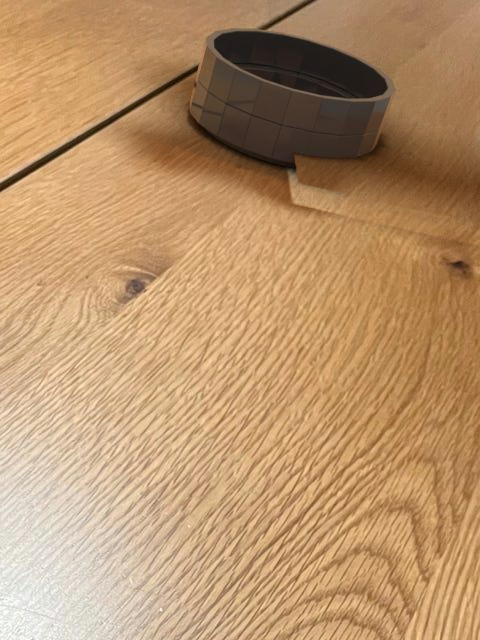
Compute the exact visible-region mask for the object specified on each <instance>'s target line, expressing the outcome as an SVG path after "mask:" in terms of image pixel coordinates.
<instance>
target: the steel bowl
mask: <svg viewBox="0 0 480 640" xmlns="http://www.w3.org/2000/svg"><path fill="white" fill-rule="evenodd" d="M396 91H397V89H396V87H395V84H394V81H393V79H391V78H390V77H389V76H388V75H387V74H386V73H385V72H384V71H382V69H381V68H379V67H377V66H375V65H373V64H372V63H370V62H369V61H367V60H365V59H363V58H362V57H360V56H357V55H355V54H352V53H349V52H347V51H345V50H343V49H340V48H338V47H335V46H332V45H330V44H326V43H323V42H320V41H317V40H314V39H311V38H307V37H304V36H299V35H295V34H290V33H286V32H282V31H275V30H267V29H260V28H245V27H243V28H240V27H238V28H237V27H232V28H226V29H220V30H215V31H213V32H211V34H209V35H208V36H206V38H205V40H204V44H203V48H202V52H201V55H200V59H199V63H198V67H197V72H196V75H195V79H194V83H193V87H192V91H191V95H190V99H189V113H190V115H191V116H192V117H193V119H194V120H195V121H196V122H197V123H198V125H200V126H201V127H202V128H203V129H204V130H205V131H206V132H207V133H208V134H209V135H210V136H212V137H213V138H214V139H215V140H217V141H218V142H220V143H222V144H224V145H225V146H227V147H229V148H231V149H233V150H235V151H237V152H239V153H241V154H243V155H246V156H249V157H252V158H255V159H258V160H260V161H264V162H268V163H271V164H274V165H278V166H283V167H288V168H293V169H297V163H296V158H295V153H296V154H299V155H305V156H311V157H321V158H330V159H338V158H339V159H341V158H342V159H343V158H357V157H360V156H364V155H366V154H369V153H371V152H372V151H373V150H374V149H375V147H376V146H377V145H378V141H379V139H380V136H381V133H382V131H383V128H384V126H385V125H384V124H385V123H386V119H387V117H388V114H389V111H390V109H391V106H392V103H393V100H394V99H395V94H396Z"/></svg>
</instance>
